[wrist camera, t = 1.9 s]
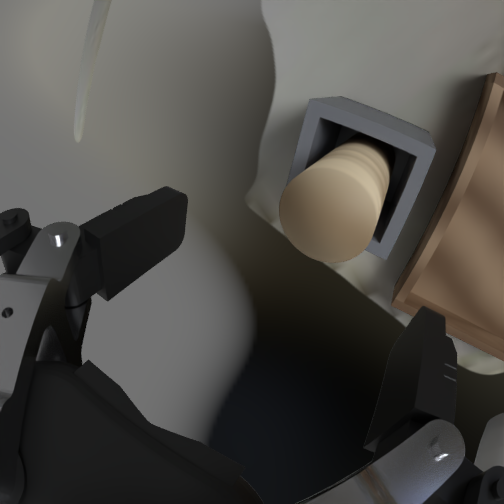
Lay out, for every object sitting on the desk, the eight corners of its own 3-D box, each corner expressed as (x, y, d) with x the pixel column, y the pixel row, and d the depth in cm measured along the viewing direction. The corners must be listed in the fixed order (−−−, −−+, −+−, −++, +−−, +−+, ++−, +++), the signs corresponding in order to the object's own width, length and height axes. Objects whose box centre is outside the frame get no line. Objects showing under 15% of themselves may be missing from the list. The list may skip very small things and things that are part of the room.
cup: (524, 432, 25) (522, 493, 18) (474, 441, 30) (465, 502, 22) (533, 399, 23) (536, 469, 16) (476, 411, 28) (470, 481, 20)
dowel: (353, 122, 22) (292, 153, 12) (402, 143, 21) (390, 194, 11) (338, 169, 24) (269, 238, 14) (384, 189, 23) (352, 277, 13)
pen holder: (340, 96, 22) (309, 99, 16) (428, 131, 20) (436, 149, 14) (316, 177, 26) (279, 211, 20) (396, 212, 24) (386, 260, 18)
